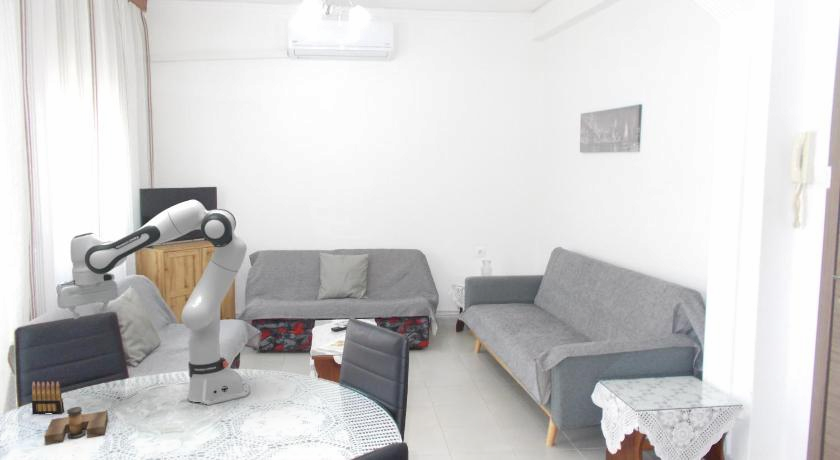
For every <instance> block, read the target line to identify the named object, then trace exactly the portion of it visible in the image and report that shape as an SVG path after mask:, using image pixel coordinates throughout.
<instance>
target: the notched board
mask: <svg viewBox="0 0 840 460" xmlns="http://www.w3.org/2000/svg"><path fill="white" fill-rule="evenodd" d="M108 420H109V414H108V410H103V411H96V412H90V413H83V414H82V425H83V430H85V431H86V438H87V439H89V438H95V437H101V436H105V434H106V429H107V427H108V426H107V425H108V422H109V421H108ZM69 433H70V429H69V418H68V416H65V417H64V416H63V417H58V418H51V420H50V423H49V425H48V427H47V429H46V431H45V434H44V445H45V446H48V445H54V444H59V443H64V441H65V438H66V434H69Z"/></svg>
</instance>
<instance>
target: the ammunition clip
mask: <svg viewBox="0 0 840 460" xmlns="http://www.w3.org/2000/svg"><path fill="white" fill-rule="evenodd" d="M31 389H32V390H31V399H32V401H31V411H32V415H33V414H39V415H46V414H45V413H52V414H51V415H62V414H64V413H65V406H64V399H63V398H62V392H61V385H60V382H59V381H58V380H57V381H56V383H55V382H54V381H53V380H52V381H51V384H50V382H49V381H47V382H46V384H45V382H44V381H42V382H41V383H40V381H37V382H35V381H34V380H33V381H32V384H31Z"/></svg>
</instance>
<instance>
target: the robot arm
mask: <svg viewBox="0 0 840 460" xmlns="http://www.w3.org/2000/svg"><path fill="white" fill-rule="evenodd" d="M236 222H237V221H236V218H235V216H234V215H233V213H232V212H230V211H229V210H226V209H223V208H207V209H206V208H205V206H204V205H203V204H202V203H201V201H198V200H196V199H190V200H186V201H183V202H180V203H177V204H175V205H173V206H170V207H169V208H166V209H164V210H163V211H161V212H160V213H158V214H156V215H155V216H153V218H151V219H150V220H149V221H147V222H146V223H145V224H143V225H142V226H140V228H139V229H137V230H135V231H134V232H132V233H130V234H128V235H126V236H123V237H122V238H120V239H118V240H116V241H115V240H110V239H106V238H103V237H100V236H99V235H97V234H96V233H94V232H87V233H83V234H79V235H75V236H74V237H72V239H71V240H70V260H71V263H72V268H71V272H72V280H68V281H61V282H60V283H59V284H57V286H56V294H57V297H56V298H57V299H56V301H57V302H56V303H57V306H58V308H60V309H63V310H64V309H66V310H67V309H68V310H69V312H71V314H72V317H73V319H74V320H78V319H80V312H79V313H78V312H77V311H75V310H76V307H80V306H85V305H91V304H95V303H102V304H103V305H102V307H99V313H100V314H106V313H107V307H108V305H109V302H110V301H113V300H116V299H117V298H118V297H119V289H118V283H117V282H116V281H115V274H112V273H111V271H112V270H113V269H115V268H117V267H119V266H121V265H123V263H125V261H126V260H127V257H128V256H131V255H132V254H135V253H137V252H138V251H140V250H142V249H145V248H147V247H150V246H154V245H155V246H156V245H158V244H163V243H166V242H170V241H173V240H175V239H179V238H181V237H182V236H185V235H186V234H188V233H190V232H193V231H196V230H200V232H201V235H202V236H203V238H205V239H206V240H207V241H208V242H209V243H210V244H212V245H213V246H214V247H215V249H214V251H213V254H212V255H211V257H210V260H209V261H208V263H207V265H206V267H205V269H204V271H203V273H202V275H201V277H200V279H199V281H198V282H197V284H196V286H195V287H194V289H193V291H192V292H191V294H190V296H189V297H188V299H187V301H186V303H185V305H184V306H183V307H182V311H181V315H180V317H181V318H180V320H181V322H182V324H183V326H184V327H186V328H187V329H189V335H188V341H187V342H188V343H187V344H188V356H189V357H188V359H189V361H188V376H189V387H188V388H189V389H188V394H187V398H188V399H189V400H190V401H194V402H201V403H200V404H202V403H204V404H203V405H205V404H207V406H210V405H215V404H218V403H222V402H223V403H224V402H226V401H232V400H235V399H236V400H237V399H239V398H244V397H247V396H248V395H249V394H250V388H249V385H248V384H247V383H245V382H243V378H242V376H241V375H240V374H239V373H238V372H237V371H235V370H233V369H232V368H230V367H228V366H229V362H228V361H227V359H225V357H221V348H220V346H221V344H220V329H221V305H222V304H223V301H224V299H225V298H226V296H227V295H228V292H229V291H230V289H231V287H232V285H233V283H234V281H235V279H236V277H237V275H238V273H239V271H240V269H241V266H242V265H243V262H244V261H245V256H246V254H247V253H246V252H247V244H246V243H245V242H244V240H242V238H240V237H238V236H236V234H235V230H236V225H237V223H236ZM109 272H110V273H109ZM188 399H187V400H188ZM189 400H188V401H189ZM190 401H189V402H190ZM194 402H193V403H194Z"/></svg>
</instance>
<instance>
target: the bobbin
mask: <svg viewBox="0 0 840 460" xmlns="http://www.w3.org/2000/svg"><path fill="white" fill-rule="evenodd" d="M82 411H83V410H82V406H81V407H80V406H76V407H75V406H74V407H70V408H68V409H67V410H66V412H67V413H66V414H68V415H67V417H68V418H69V429H70V433H67V439H69V440H77V439H80V438H83V437H85V436H87V430H83V425H82V415H83V414H82Z"/></svg>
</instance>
